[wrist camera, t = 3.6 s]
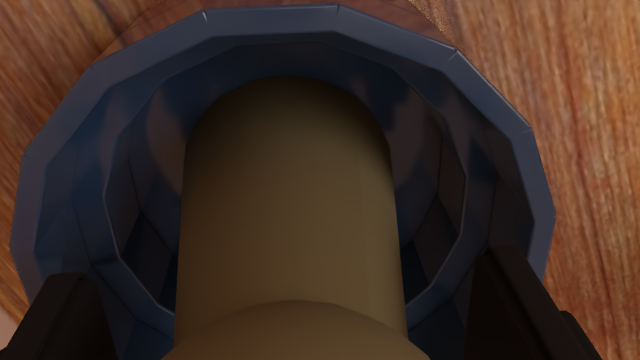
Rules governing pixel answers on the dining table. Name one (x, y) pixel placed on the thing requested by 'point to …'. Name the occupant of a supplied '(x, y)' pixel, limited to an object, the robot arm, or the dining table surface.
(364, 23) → the blue bowl
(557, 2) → the dining table surface
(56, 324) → the robot arm
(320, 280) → the pepper shaker
